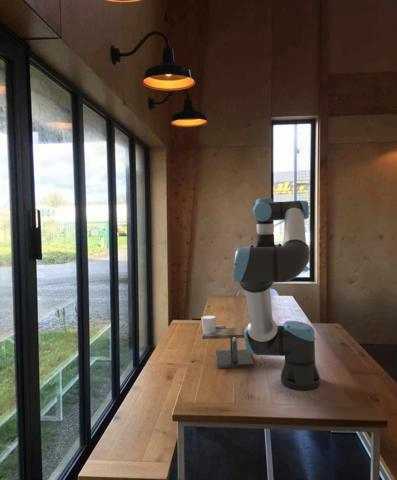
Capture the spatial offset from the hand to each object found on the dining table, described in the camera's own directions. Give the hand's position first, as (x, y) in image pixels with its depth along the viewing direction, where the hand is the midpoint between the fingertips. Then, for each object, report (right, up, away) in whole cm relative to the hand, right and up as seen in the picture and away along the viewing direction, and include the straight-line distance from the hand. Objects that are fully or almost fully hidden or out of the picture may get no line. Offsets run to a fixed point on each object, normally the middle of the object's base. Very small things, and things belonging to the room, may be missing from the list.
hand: (266, 281), depth 174 cm
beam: (-14, -26, +6) cm, 30 cm away
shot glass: (-25, -24, +6) cm, 35 cm away
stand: (-14, -37, +7) cm, 40 cm away
